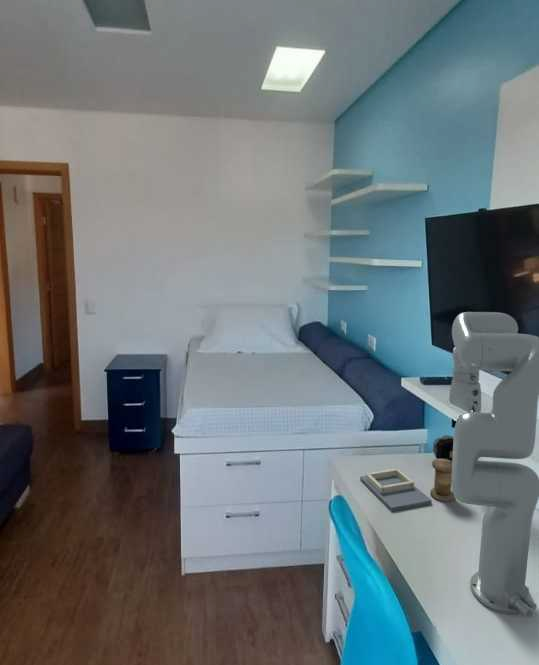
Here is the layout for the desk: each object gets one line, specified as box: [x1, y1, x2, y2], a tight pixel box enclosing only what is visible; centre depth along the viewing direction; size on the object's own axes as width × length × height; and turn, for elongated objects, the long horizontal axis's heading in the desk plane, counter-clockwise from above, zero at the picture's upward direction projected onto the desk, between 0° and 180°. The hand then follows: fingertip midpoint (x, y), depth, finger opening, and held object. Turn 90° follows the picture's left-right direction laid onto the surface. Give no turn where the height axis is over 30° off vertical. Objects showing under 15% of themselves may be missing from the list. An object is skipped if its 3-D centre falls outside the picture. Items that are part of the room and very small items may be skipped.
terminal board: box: [359, 468, 432, 512], centre depth 151 cm, size 20×14×3 cm
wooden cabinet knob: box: [430, 458, 455, 503], centre depth 147 cm, size 7×7×11 cm
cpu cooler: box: [432, 434, 454, 461], centre depth 169 cm, size 10×6×10 cm, turn 97°
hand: (462, 430), depth 151 cm, fingers closed on push button, 5 cm apart
